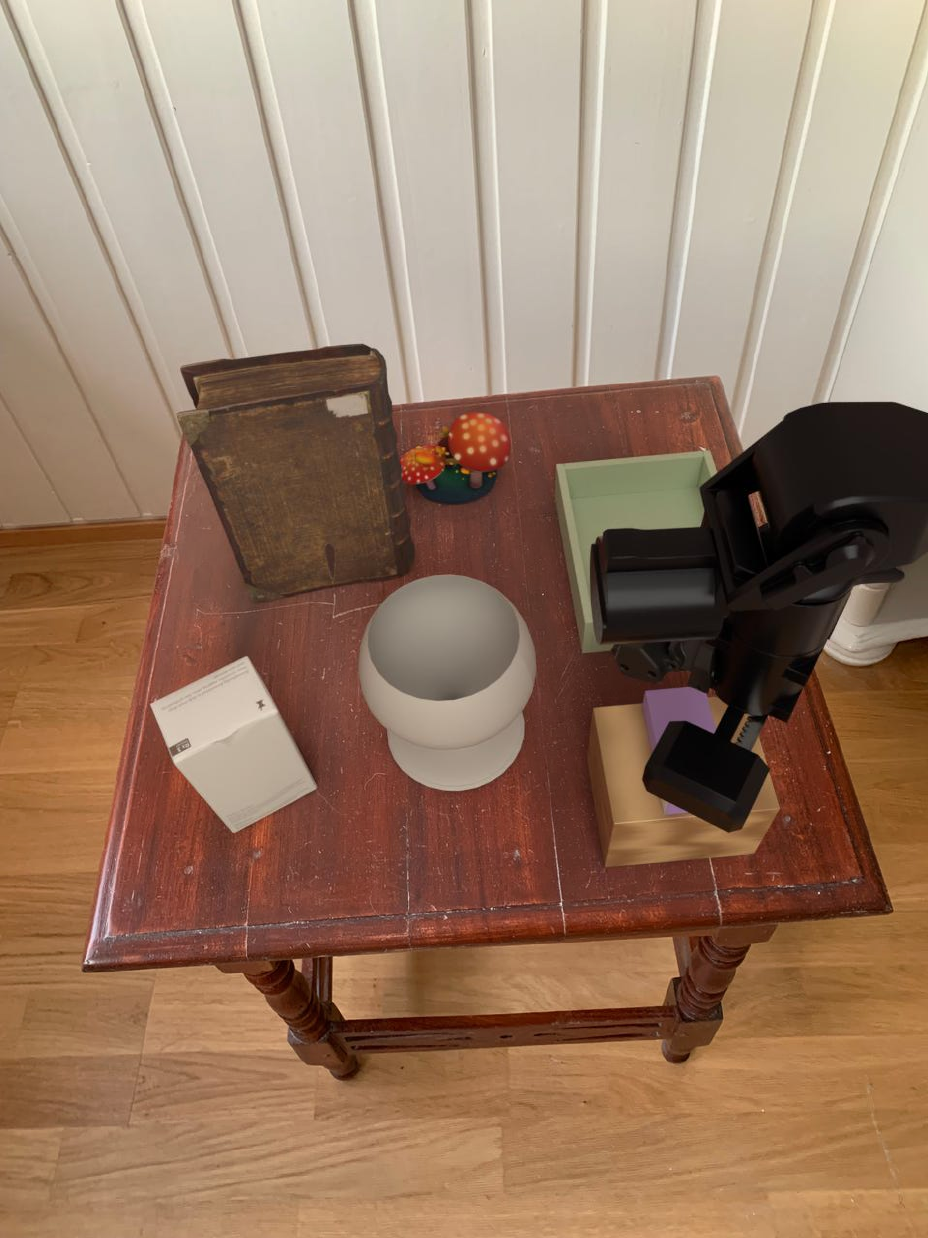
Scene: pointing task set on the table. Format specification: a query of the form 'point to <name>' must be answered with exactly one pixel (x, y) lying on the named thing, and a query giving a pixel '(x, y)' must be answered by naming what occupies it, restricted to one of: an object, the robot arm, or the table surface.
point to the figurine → (459, 460)
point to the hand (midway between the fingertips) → (726, 744)
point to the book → (302, 467)
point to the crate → (657, 798)
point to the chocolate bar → (675, 717)
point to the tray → (623, 510)
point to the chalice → (449, 679)
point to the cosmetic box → (233, 745)
